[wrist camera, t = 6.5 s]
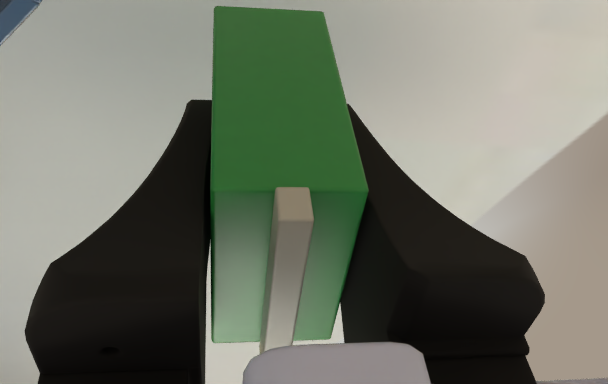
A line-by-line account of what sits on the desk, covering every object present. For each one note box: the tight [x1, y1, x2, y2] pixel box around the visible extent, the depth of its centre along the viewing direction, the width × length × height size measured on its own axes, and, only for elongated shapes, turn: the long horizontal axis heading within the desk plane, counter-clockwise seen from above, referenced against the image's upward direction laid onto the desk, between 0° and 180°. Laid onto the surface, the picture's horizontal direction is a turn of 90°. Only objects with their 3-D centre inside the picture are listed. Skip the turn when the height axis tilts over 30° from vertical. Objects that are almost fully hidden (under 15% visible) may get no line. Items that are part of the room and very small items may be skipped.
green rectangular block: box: [210, 6, 369, 354], centre depth 14 cm, size 3×5×7 cm, turn 174°
